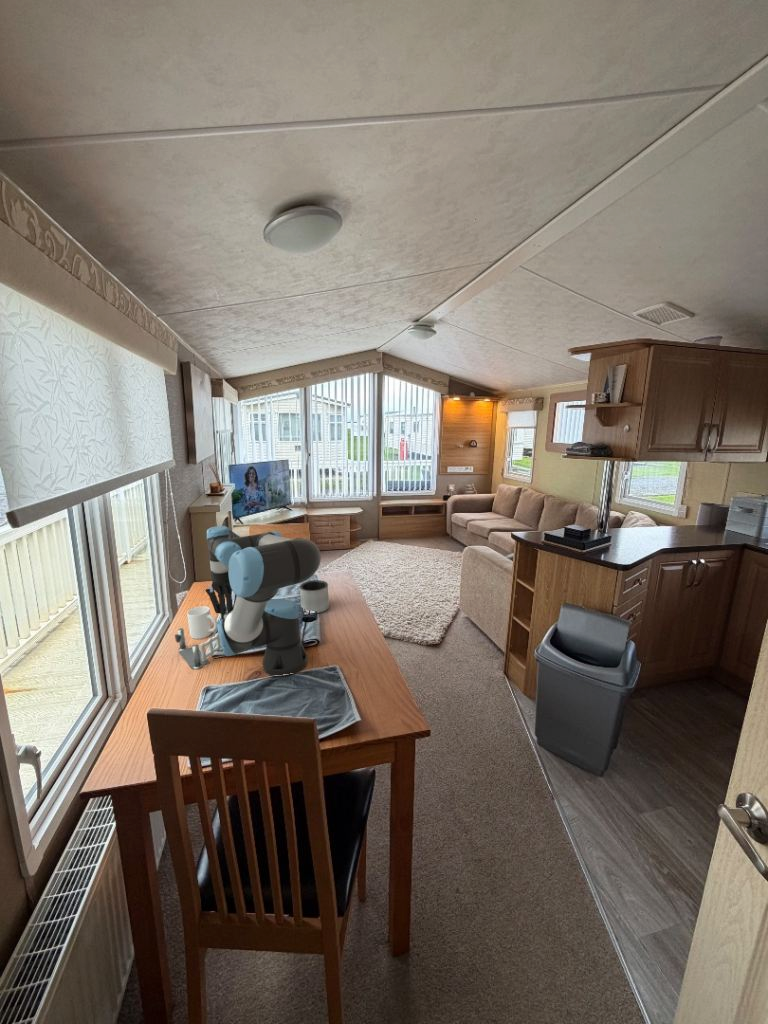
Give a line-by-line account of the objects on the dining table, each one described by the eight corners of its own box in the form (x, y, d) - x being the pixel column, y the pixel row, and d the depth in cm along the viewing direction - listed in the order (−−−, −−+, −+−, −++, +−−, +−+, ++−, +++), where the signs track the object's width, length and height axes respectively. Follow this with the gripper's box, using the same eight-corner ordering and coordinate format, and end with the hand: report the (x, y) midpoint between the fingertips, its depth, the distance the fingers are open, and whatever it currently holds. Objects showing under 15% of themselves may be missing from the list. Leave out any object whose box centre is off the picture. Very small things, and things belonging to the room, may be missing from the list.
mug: (224, 631, 172) (221, 608, 169) (211, 641, 164) (208, 617, 162) (199, 628, 175) (196, 605, 172) (185, 638, 167) (182, 614, 165)
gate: (203, 661, 149) (201, 644, 148) (201, 661, 150) (199, 644, 148) (228, 644, 160) (226, 628, 158) (226, 644, 160) (224, 628, 159)
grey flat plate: (210, 662, 150) (210, 661, 150) (192, 669, 146) (192, 668, 146) (195, 646, 161) (195, 645, 161) (178, 652, 157) (178, 651, 157)
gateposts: (204, 666, 147) (201, 646, 146) (193, 671, 145) (190, 650, 143) (186, 645, 161) (183, 626, 160) (175, 649, 159) (172, 630, 157)
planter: (304, 616, 183) (302, 592, 180) (298, 605, 194) (297, 582, 192) (332, 611, 187) (331, 588, 185) (325, 600, 199) (324, 578, 196)
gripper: (243, 565, 153) (249, 624, 159) (208, 566, 153) (215, 624, 159) (237, 573, 146) (243, 634, 151) (199, 573, 146) (207, 635, 151)
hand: (228, 629), depth 155 cm, fingers closed
